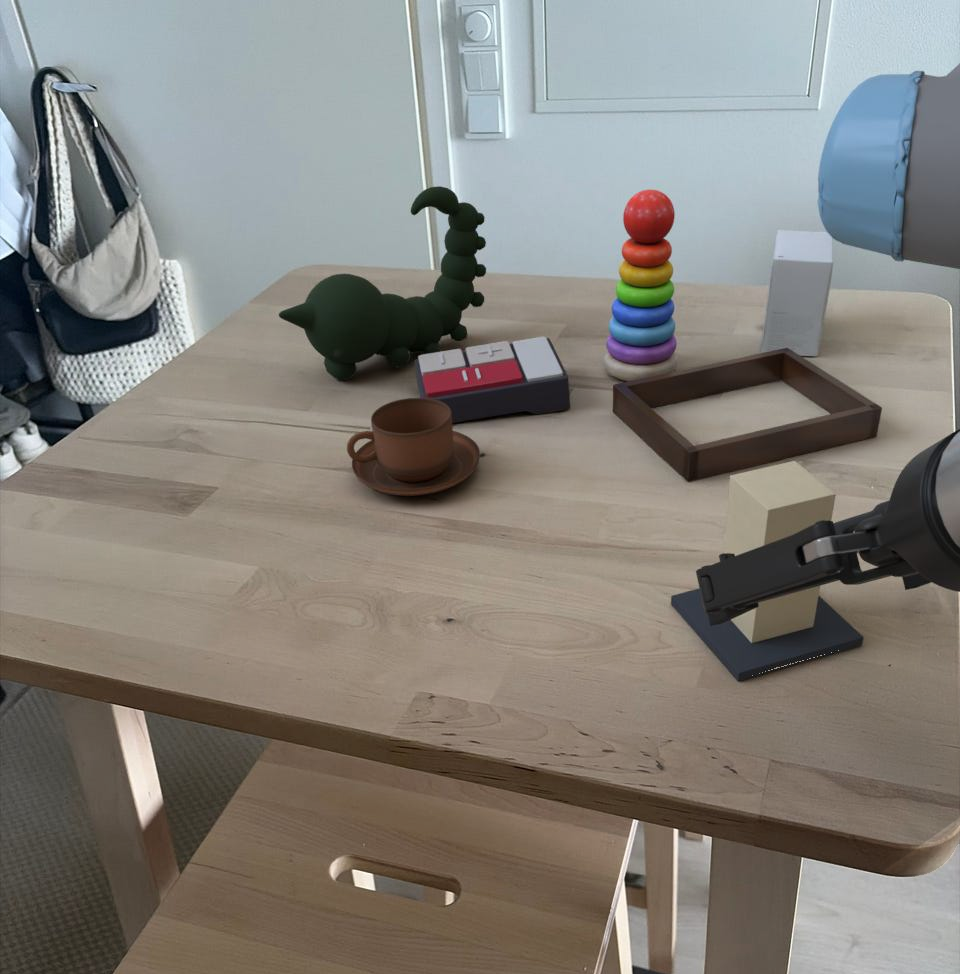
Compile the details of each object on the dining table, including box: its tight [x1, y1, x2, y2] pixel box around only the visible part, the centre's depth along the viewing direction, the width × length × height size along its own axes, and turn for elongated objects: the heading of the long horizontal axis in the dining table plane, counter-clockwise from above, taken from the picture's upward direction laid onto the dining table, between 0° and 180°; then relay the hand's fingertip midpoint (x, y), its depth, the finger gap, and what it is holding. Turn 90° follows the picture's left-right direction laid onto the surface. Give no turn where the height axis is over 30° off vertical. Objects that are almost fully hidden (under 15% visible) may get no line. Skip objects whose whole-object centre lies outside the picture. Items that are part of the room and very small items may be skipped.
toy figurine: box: [278, 185, 487, 381], centre depth 113 cm, size 9×19×25 cm
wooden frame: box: [612, 348, 883, 483], centre depth 100 cm, size 20×16×3 cm
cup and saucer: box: [346, 397, 481, 497], centre depth 95 cm, size 12×12×6 cm
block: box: [722, 460, 837, 643], centre depth 72 cm, size 5×5×11 cm
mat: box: [670, 588, 864, 682], centre depth 76 cm, size 10×10×1 cm
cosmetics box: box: [759, 229, 834, 357], centre depth 114 cm, size 10×6×10 cm, turn 165°
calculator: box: [413, 336, 571, 424], centre depth 109 cm, size 11×4×15 cm
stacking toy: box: [603, 189, 678, 382], centre depth 107 cm, size 8×8×19 cm
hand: (809, 586), depth 67 cm, fingers open, 13 cm apart
